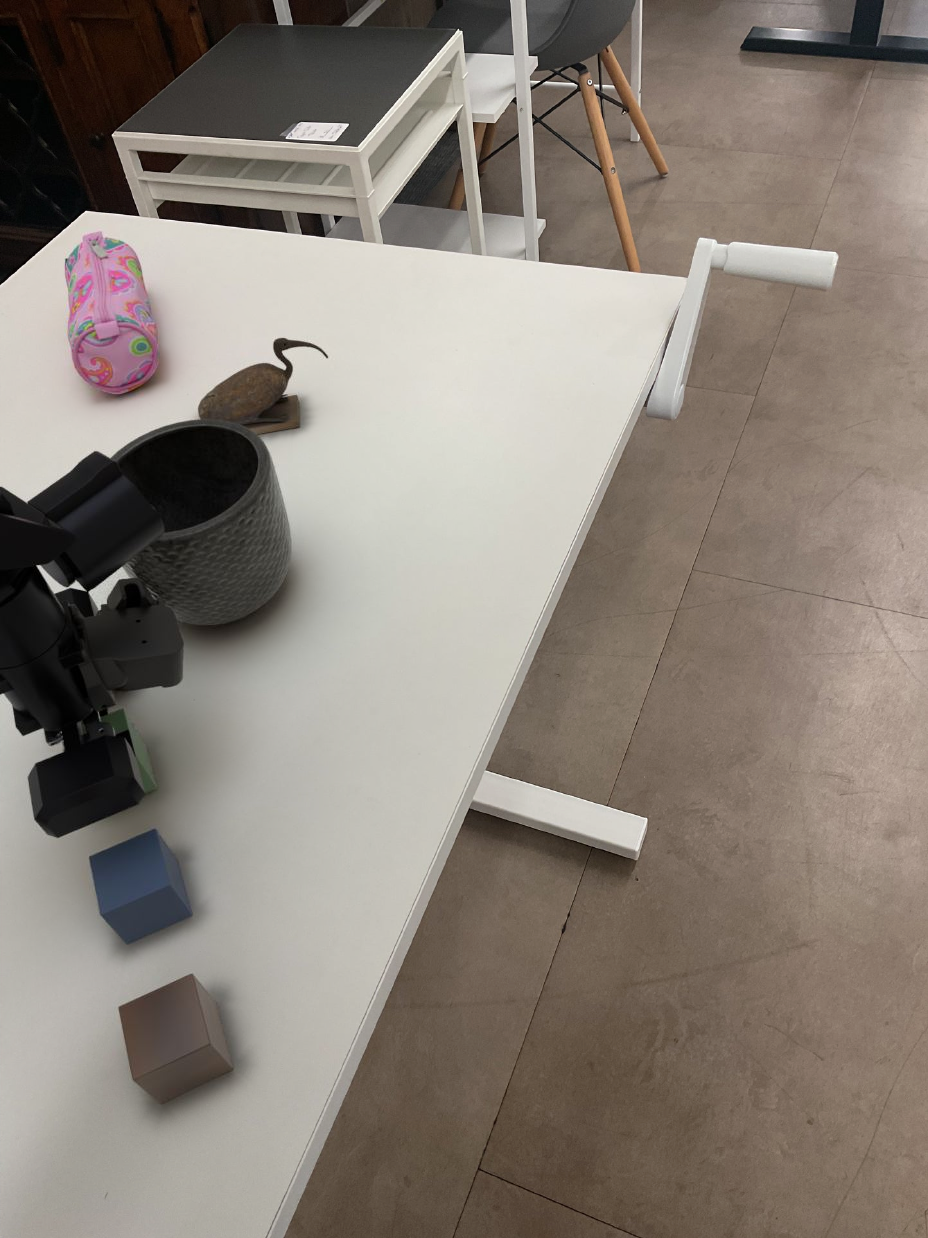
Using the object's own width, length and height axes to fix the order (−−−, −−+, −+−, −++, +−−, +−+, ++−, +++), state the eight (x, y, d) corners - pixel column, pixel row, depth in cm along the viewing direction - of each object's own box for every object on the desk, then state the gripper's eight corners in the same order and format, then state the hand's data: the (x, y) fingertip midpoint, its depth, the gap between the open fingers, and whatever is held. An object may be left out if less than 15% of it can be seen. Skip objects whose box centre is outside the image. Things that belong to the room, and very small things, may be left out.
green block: (96, 814, 72) (71, 780, 68) (86, 766, 75) (61, 732, 71) (157, 788, 73) (135, 754, 69) (145, 742, 76) (123, 707, 72)
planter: (343, 564, 86) (307, 446, 76) (235, 679, 79) (181, 566, 69) (224, 514, 92) (177, 399, 82) (114, 617, 85) (49, 504, 75)
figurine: (340, 393, 102) (321, 318, 96) (342, 420, 99) (322, 345, 93) (204, 417, 102) (175, 343, 96) (202, 444, 99) (172, 371, 93)
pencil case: (80, 308, 119) (47, 236, 113) (155, 288, 120) (127, 216, 114) (88, 410, 105) (51, 335, 99) (173, 386, 106) (143, 311, 100)
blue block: (126, 945, 65) (100, 915, 62) (114, 888, 68) (88, 856, 65) (193, 915, 66) (170, 884, 63) (178, 860, 69) (155, 827, 66)
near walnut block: (160, 1104, 59) (132, 1081, 55) (145, 1033, 61) (117, 1006, 58) (234, 1069, 59) (210, 1044, 56) (215, 1000, 62) (192, 972, 59)
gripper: (181, 688, 57) (256, 827, 68) (120, 495, 69) (193, 641, 80) (-17, 768, 55) (96, 896, 66) (-44, 555, 67) (56, 695, 78)
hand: (116, 770), depth 73 cm, fingers closed on green block, 4 cm apart
